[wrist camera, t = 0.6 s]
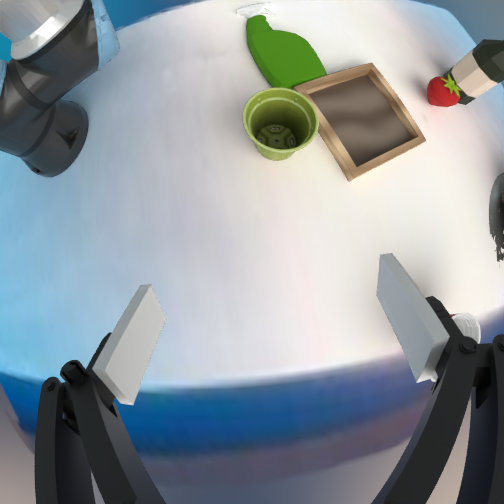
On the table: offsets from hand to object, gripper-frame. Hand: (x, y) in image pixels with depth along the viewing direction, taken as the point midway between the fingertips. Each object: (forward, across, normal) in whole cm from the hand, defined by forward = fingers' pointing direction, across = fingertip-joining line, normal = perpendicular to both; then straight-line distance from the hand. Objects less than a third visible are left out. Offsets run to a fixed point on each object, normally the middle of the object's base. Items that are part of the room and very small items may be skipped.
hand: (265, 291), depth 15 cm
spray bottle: (+41, +6, +24) cm, 48 cm away
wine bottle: (+41, +46, +15) cm, 63 cm away
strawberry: (+38, +35, +11) cm, 53 cm away
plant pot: (+30, +2, +5) cm, 31 cm away
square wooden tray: (+33, +17, +8) cm, 38 cm away
